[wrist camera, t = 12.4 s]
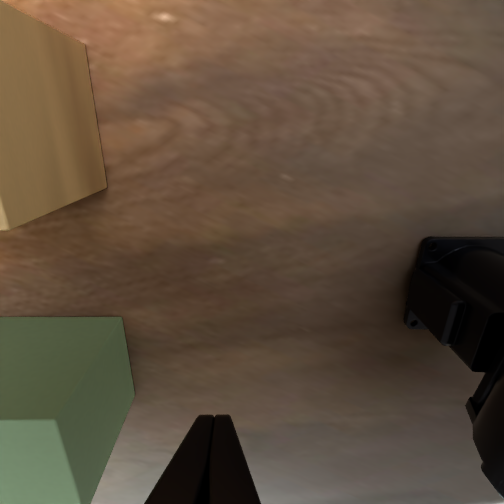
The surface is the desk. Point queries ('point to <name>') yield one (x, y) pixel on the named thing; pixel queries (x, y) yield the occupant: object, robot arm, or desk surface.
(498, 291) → the robot arm
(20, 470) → the green block
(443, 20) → the desk surface
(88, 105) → the maple block
